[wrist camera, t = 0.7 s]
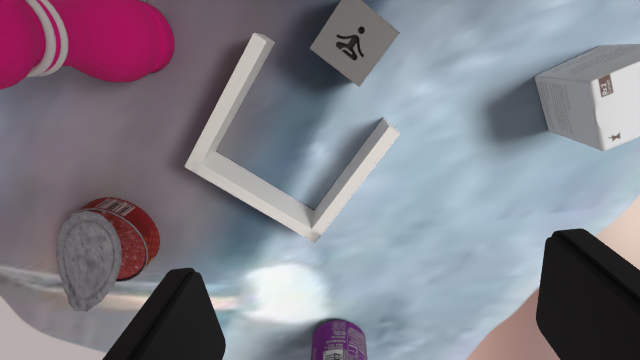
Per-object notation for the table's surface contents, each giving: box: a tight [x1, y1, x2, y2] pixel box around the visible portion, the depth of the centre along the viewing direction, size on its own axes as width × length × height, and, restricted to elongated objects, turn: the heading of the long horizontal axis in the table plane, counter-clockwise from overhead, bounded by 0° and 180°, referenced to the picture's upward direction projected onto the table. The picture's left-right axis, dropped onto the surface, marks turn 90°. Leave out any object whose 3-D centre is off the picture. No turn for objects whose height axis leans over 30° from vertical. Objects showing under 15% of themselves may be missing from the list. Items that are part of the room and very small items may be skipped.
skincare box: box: [535, 44, 640, 151], centre depth 27 cm, size 6×6×7 cm
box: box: [185, 33, 400, 243], centre depth 31 cm, size 14×15×4 cm
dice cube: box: [310, 0, 400, 86], centre depth 27 cm, size 5×5×5 cm
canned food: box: [56, 198, 160, 311], centre depth 36 cm, size 11×10×10 cm
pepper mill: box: [0, 0, 174, 89], centre depth 21 cm, size 7×7×20 cm
